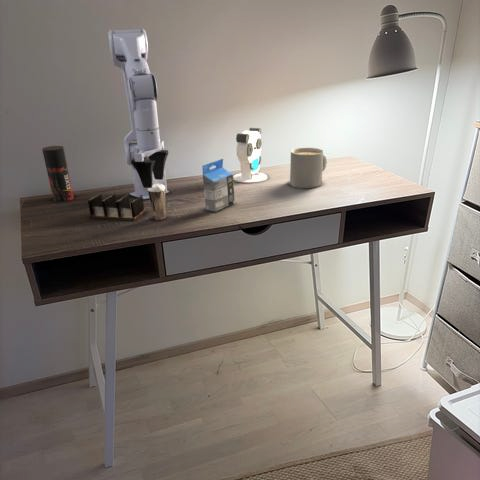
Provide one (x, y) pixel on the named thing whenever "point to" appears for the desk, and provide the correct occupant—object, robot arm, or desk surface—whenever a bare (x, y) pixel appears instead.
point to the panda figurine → (249, 156)
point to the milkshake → (158, 201)
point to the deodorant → (58, 173)
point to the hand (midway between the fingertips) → (153, 183)
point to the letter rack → (116, 208)
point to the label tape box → (217, 186)
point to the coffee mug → (307, 167)
